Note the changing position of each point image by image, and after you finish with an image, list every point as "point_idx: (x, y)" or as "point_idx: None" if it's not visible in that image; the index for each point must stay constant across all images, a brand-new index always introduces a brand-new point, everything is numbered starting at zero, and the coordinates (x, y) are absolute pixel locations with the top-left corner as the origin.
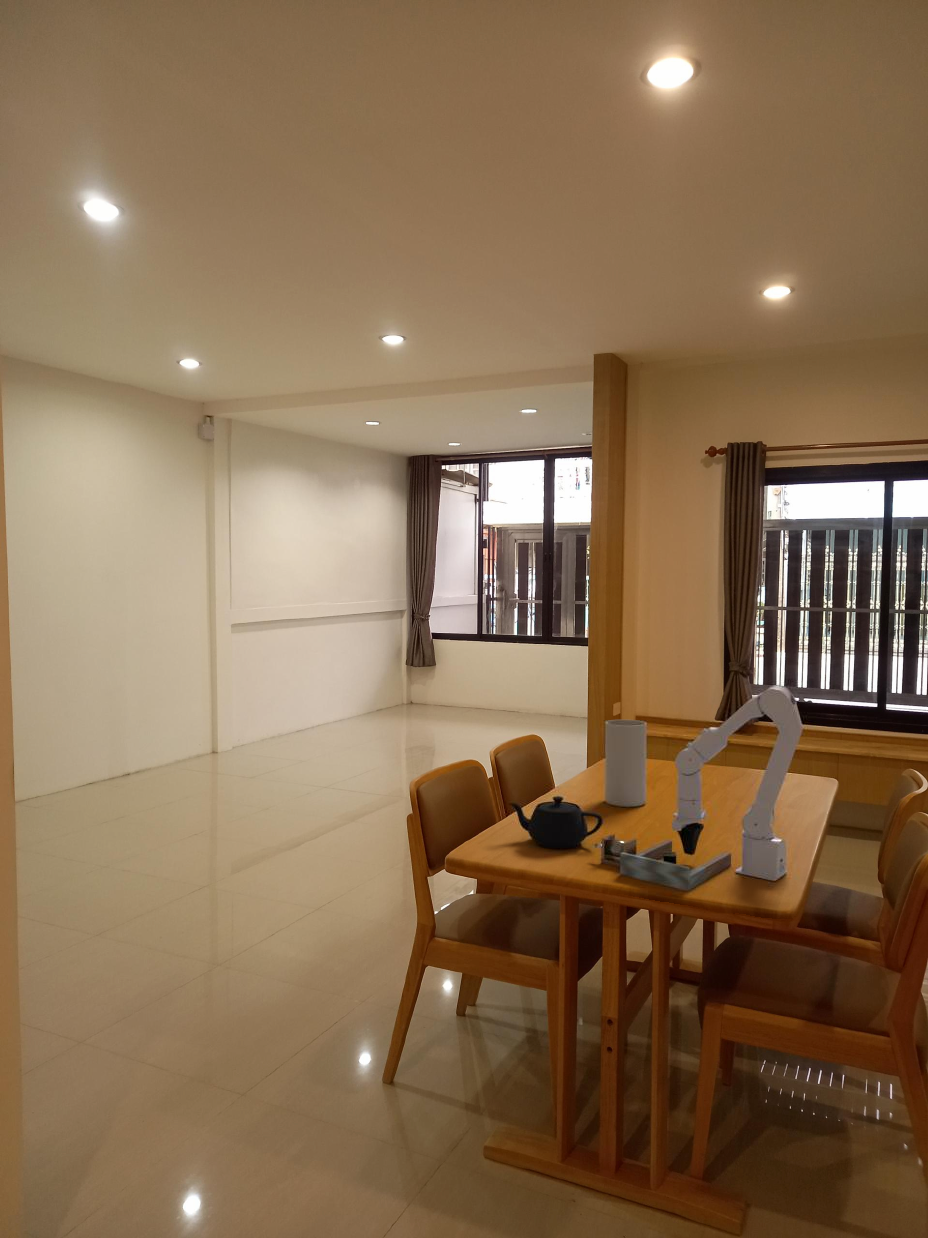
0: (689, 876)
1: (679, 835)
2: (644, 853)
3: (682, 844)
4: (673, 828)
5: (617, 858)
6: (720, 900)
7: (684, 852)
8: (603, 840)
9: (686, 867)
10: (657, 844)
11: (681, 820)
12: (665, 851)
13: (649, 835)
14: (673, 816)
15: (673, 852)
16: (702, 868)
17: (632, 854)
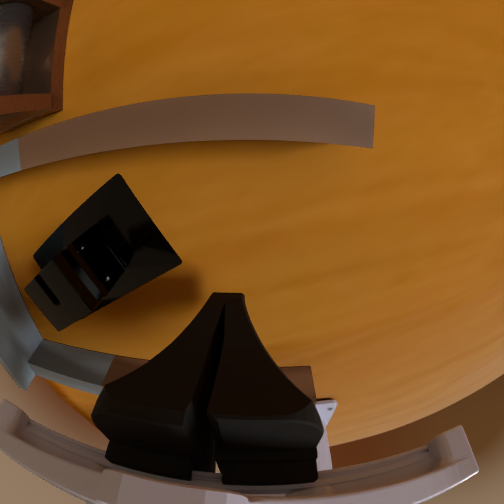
0: (32, 373)
1: (151, 359)
2: (22, 163)
3: (193, 320)
4: (5, 412)
5: (26, 54)
6: (71, 395)
7: (209, 297)
8: None
9: (17, 384)
10: (214, 98)
11: (53, 484)
12: (57, 270)
13: (481, 6)
14: (101, 477)
15: (79, 307)
16: (93, 392)
17: (5, 121)
